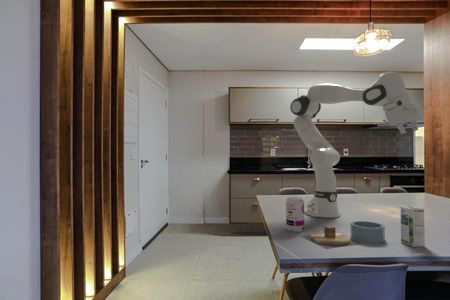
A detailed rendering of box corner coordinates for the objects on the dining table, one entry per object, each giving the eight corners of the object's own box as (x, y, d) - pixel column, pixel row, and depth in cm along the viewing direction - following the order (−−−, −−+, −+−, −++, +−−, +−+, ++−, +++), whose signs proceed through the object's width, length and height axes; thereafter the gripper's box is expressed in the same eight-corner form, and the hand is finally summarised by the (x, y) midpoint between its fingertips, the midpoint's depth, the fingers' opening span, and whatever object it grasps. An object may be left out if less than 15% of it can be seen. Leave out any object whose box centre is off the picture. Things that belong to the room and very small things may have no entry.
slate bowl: (344, 236, 117) (344, 222, 117) (367, 233, 120) (367, 220, 120) (367, 245, 105) (366, 229, 105) (391, 241, 109) (391, 226, 109)
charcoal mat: (300, 237, 116) (300, 235, 116) (333, 233, 121) (333, 232, 121) (325, 250, 100) (325, 248, 100) (363, 245, 105) (363, 243, 105)
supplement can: (304, 229, 129) (304, 197, 129) (304, 233, 121) (303, 200, 122) (287, 227, 132) (287, 196, 132) (285, 232, 124) (285, 199, 124)
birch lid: (303, 236, 116) (303, 224, 116) (333, 233, 120) (332, 221, 120) (326, 247, 101) (326, 233, 102) (359, 243, 106) (358, 229, 106)
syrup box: (400, 242, 108) (399, 205, 108) (414, 241, 108) (413, 205, 109) (411, 247, 102) (410, 208, 103) (425, 246, 103) (424, 208, 103)
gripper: (405, 104, 135) (415, 131, 133) (380, 108, 126) (390, 136, 123) (419, 99, 129) (429, 127, 127) (393, 103, 120) (403, 132, 118)
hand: (409, 132), depth 125 cm, fingers open, 8 cm apart
